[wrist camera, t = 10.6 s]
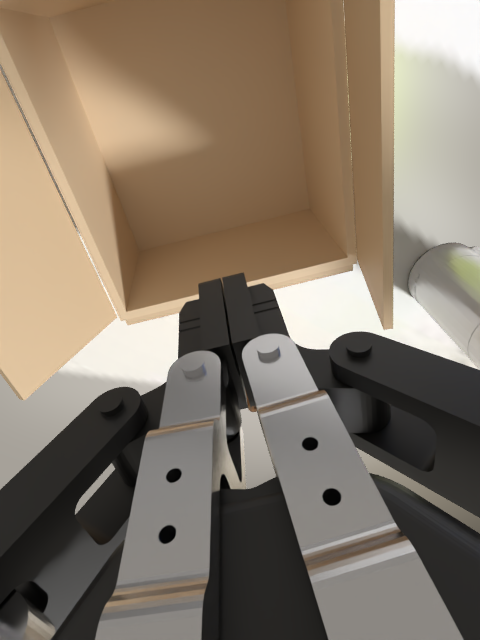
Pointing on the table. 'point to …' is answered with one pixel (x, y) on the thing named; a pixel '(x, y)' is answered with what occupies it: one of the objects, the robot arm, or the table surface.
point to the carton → (191, 138)
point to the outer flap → (39, 265)
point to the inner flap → (372, 142)
